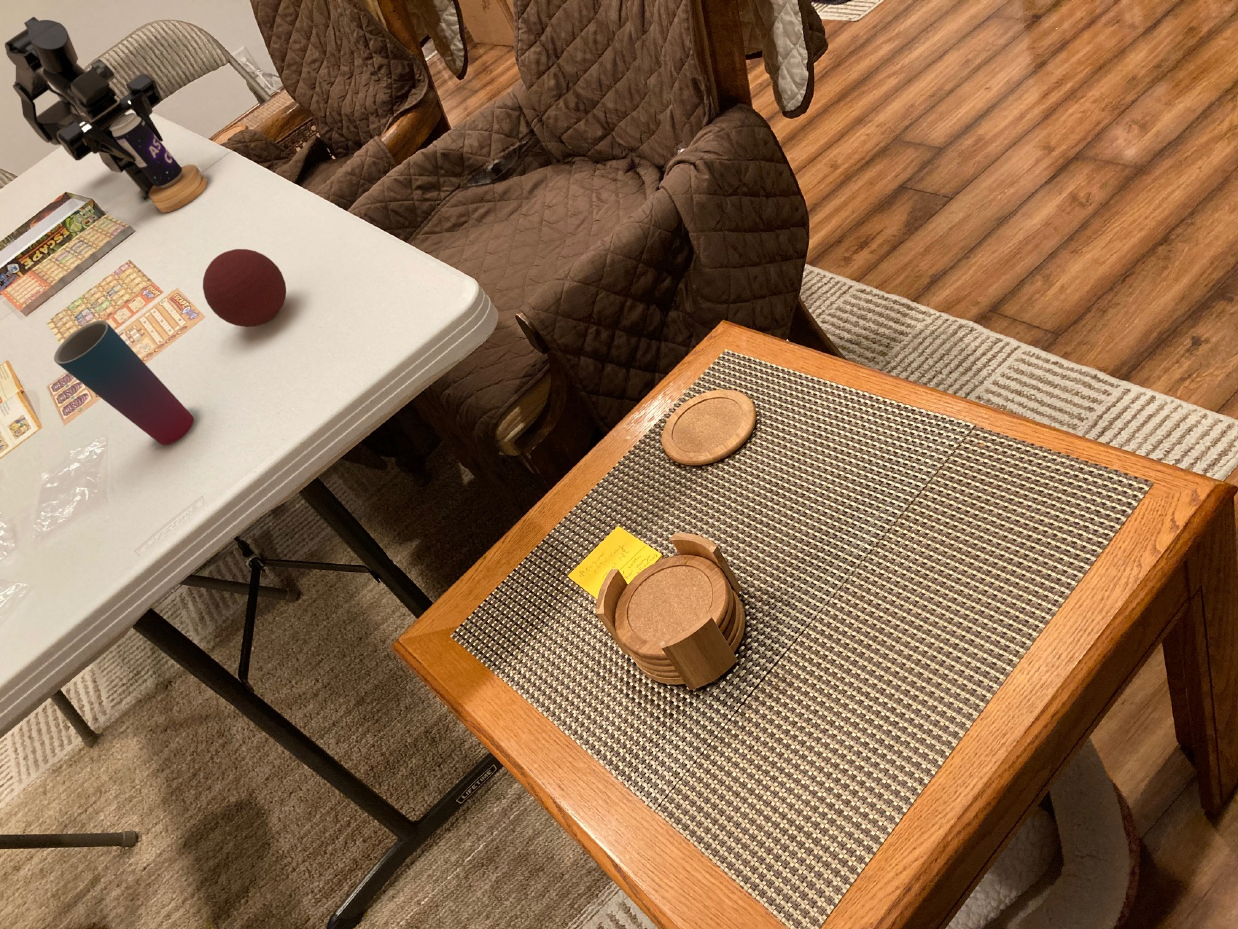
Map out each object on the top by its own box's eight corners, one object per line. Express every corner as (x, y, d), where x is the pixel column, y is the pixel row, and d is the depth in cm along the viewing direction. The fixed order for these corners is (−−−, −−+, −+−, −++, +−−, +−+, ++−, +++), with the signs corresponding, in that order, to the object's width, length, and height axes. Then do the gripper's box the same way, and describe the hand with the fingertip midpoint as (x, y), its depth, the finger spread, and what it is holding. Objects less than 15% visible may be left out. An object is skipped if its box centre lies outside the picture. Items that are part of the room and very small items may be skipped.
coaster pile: (157, 201, 161) (145, 187, 159) (203, 172, 162) (192, 158, 160) (162, 219, 154) (150, 205, 152) (211, 189, 155) (199, 174, 153)
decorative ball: (231, 353, 114) (178, 295, 107) (241, 309, 121) (192, 252, 114) (298, 324, 112) (249, 263, 105) (304, 281, 119) (258, 222, 112)
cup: (160, 418, 109) (66, 332, 99) (205, 401, 108) (115, 312, 98) (145, 457, 105) (44, 371, 94) (192, 440, 103) (96, 350, 93)
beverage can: (178, 185, 153) (128, 124, 145) (153, 194, 155) (102, 134, 147) (190, 167, 157) (141, 107, 149) (165, 176, 159) (116, 117, 150)
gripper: (14, 89, 139) (89, 157, 140) (109, 25, 145) (180, 91, 146) (40, 128, 150) (109, 191, 150) (127, 68, 156) (194, 128, 156)
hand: (148, 150), depth 151 cm, fingers closed on beverage can, 6 cm apart
